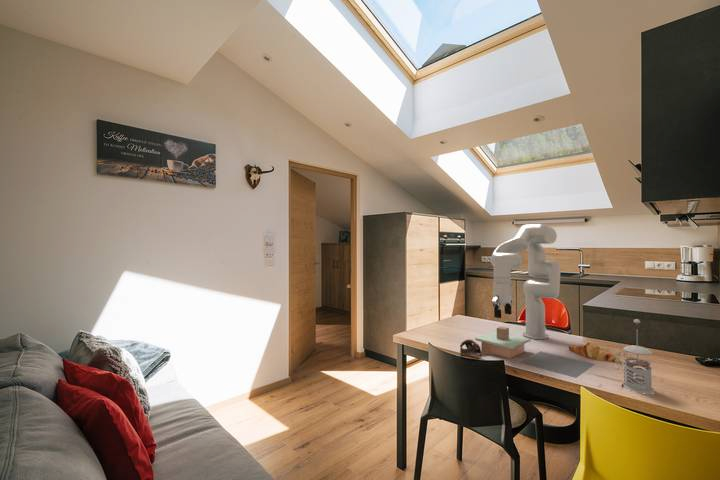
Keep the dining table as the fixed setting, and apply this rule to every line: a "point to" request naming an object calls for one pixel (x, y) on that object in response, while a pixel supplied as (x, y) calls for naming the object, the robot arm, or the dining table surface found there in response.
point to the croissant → (594, 352)
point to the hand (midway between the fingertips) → (503, 315)
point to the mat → (558, 364)
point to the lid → (503, 338)
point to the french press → (637, 369)
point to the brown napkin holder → (470, 348)
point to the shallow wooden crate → (501, 350)
